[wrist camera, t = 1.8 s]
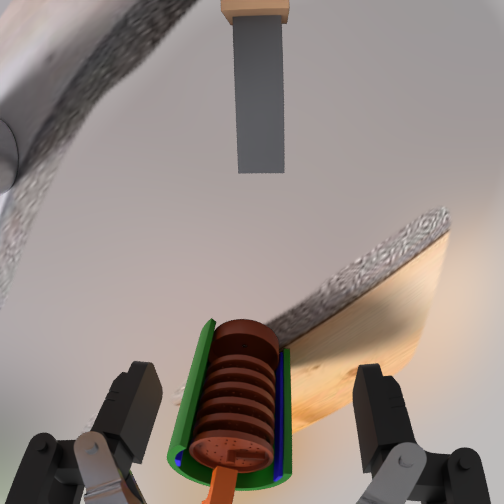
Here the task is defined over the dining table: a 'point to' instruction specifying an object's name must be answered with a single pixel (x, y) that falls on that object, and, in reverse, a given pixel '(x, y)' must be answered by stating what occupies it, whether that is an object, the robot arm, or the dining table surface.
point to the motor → (235, 412)
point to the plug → (258, 82)
